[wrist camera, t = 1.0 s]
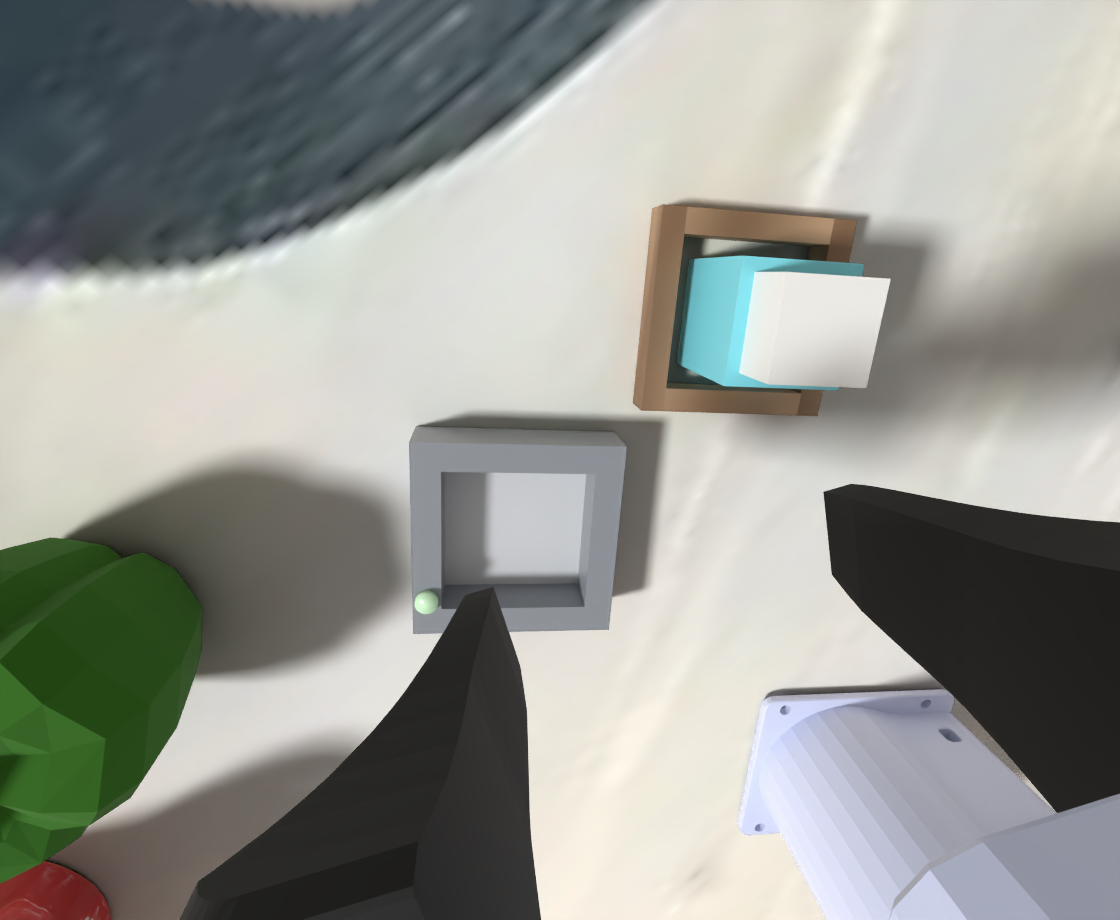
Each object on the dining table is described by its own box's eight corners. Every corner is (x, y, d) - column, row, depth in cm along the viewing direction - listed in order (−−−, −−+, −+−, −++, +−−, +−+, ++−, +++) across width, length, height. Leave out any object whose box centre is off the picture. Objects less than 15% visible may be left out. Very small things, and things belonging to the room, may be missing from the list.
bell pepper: (103, 453, 19) (-260, 625, 10) (285, 612, 22) (135, 867, 13) (-69, 596, 20) (-559, 882, 11) (126, 733, 23) (-128, 1060, 13)
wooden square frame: (835, 223, 20) (856, 220, 19) (800, 408, 22) (817, 416, 21) (652, 208, 19) (663, 204, 18) (632, 403, 21) (641, 410, 20)
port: (614, 431, 21) (629, 449, 19) (598, 600, 24) (610, 634, 21) (416, 426, 20) (407, 444, 18) (419, 603, 23) (412, 638, 20)
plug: (787, 265, 20) (909, 262, 14) (769, 367, 21) (876, 403, 16) (689, 259, 20) (774, 253, 14) (676, 363, 21) (750, 398, 15)
